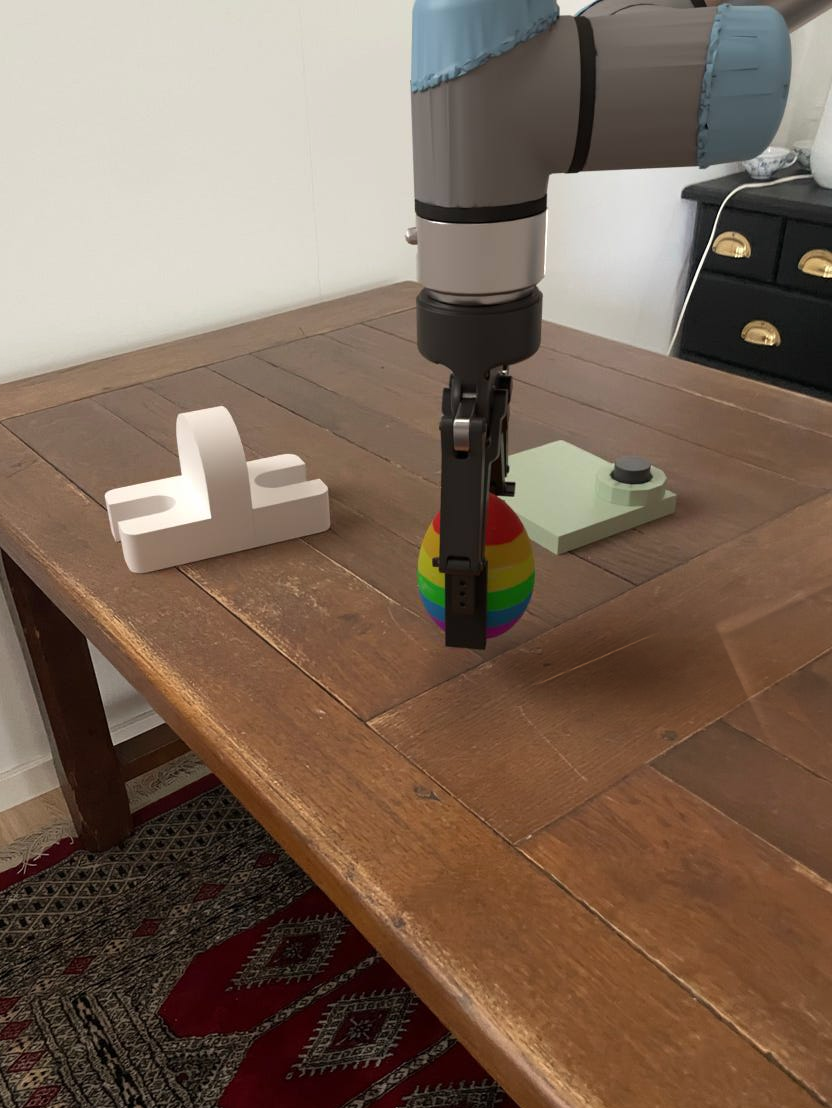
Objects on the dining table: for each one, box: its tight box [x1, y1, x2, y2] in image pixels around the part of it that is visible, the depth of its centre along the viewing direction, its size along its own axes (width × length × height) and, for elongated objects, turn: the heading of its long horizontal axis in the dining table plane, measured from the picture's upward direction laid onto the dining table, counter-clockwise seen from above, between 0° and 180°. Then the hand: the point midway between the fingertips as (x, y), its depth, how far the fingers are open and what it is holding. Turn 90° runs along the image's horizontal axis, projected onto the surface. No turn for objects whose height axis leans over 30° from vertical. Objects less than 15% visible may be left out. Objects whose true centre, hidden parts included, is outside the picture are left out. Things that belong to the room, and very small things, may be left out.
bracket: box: [104, 405, 331, 574], centre depth 93 cm, size 19×10×11 cm, turn 113°
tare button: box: [613, 456, 652, 485], centre depth 93 cm, size 3×3×2 cm
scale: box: [498, 439, 678, 556], centre depth 97 cm, size 16×14×4 cm
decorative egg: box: [416, 493, 536, 640], centre depth 71 cm, size 8×8×10 cm
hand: (475, 610), depth 73 cm, fingers closed on decorative egg, 8 cm apart
